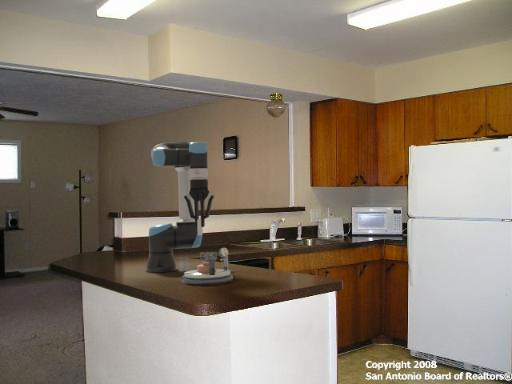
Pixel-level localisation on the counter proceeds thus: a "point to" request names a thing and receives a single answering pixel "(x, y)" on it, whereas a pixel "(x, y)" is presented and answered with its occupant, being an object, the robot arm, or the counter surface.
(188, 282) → the turntable base
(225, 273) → the platter
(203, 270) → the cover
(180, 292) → the counter surface
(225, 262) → the indicator stand
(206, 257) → the mechanical component
